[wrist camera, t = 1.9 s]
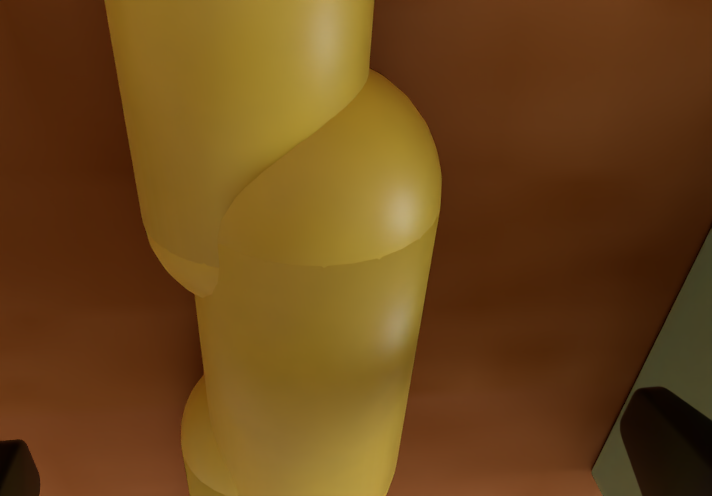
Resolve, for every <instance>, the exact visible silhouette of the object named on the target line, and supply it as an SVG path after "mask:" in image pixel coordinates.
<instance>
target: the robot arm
mask: <svg viewBox="0 0 712 496" xmlns="http://www.w3.org/2000/svg"><path fill="white" fill-rule="evenodd" d="M620 434H621V437H622V440H623V443H624V446H625V449H626V452H627V454H628V457H629V460H630V463H631V466H632V469H633V471H634V474H635V477H636V480H637V483H638V486H639V488H640V491H641V494H642V496H712V420H711V419H709V418H708V417H706V416H705V415H704V414H702V413H701V412H699V411H698V410H697V409H695V408H694V407H692V406H691V405H690V404H688V403H687V402H685V401H684V400H683V399H681V398H680V397H678V396H677V395H676V394H674V393H673V392H671V391H670V390H668V389H667V388H664V387H660V386H655V387H643V388H638V389H637V390H636V391H635V392H634V393H633V395H632V397H631V399H630V401H629V403H628V405H627V407H626V409H625V411H624V413H623V415H622V417H621V420H620ZM39 494H40V476H39V472H38V470H37V468H36V465H35V463H34V460H33V458H32V455H31V453H30V451H29V448H28V446H27V444H26V443H25V442H24V441H23V440H6V441H0V496H39Z"/></svg>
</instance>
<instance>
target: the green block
mask: <svg viewBox="0 0 712 496" xmlns="http://www.w3.org/2000/svg"><path fill="white" fill-rule="evenodd" d="M655 386H660V387H664V388H667V389H668V390H670V391H671V392H673V393H674V394H676V395H677V396H678V397H680V398H681V399H683V400H684V401H685V402H687V403H688V404H690V405H691V406H692V407H694V408H695V409H697V410H698V411H699V412H701V413H702V414H704V415H705V416H706V417H708V418H709V419H711V420H712V228H711V230H710V232H709V234H708V236H707V238H706V240H705V242H704V244H703V246H702V248H701V250H700V252H699V254H698V256H697V258H696V260H695V262H694V264H693V266H692V268H691V270H690V272H689V274H688V276H687V278H686V280H685V282H684V284H683V286H682V288H681V290H680V293H679V295H678V297H677V299H676V301H675V303H674V305H673V307H672V309H671V311H670V313H669V315H668V317H667V319H666V321H665V323H664V325H663V327H662V329H661V331H660V333H659V335H658V337H657V339H656V341H655V343H654V345H653V347H652V349H651V351H650V353H649V355H648V357H647V359H646V362H645V364H644V366H643V368H642V370H641V372H640V374H639V376H638V378H637V380H636V382H635V384H634V386H633V388H632V390H631V392H630V394H629V396H628V398H627V400H626V402H625V404H624V406H623V408H622V410H621V412H620V414H619V416H618V418H617V420H616V422H615V424H614V426H613V429H612V431H611V433H610V435H609V437H608V439H607V441H606V443H605V445H604V447H603V449H602V451H601V453H600V455H599V457H598V459H597V461H596V463H595V465H594V467H593V469H592V476H593V478H594V479H595V481H596V483H597V485H598V487H599V489H600V491H601V493H602V495H603V496H642V494H641V491H640V488H639V486H638V483H637V480H636V477H635V474H634V471H633V469H632V466H631V463H630V460H629V457H628V454H627V452H626V449H625V446H624V443H623V440H622V437H621V434H620V420H621V417H622V415H623V413H624V411H625V409H626V407H627V405H628V403H629V401H630V399H631V397H632V395H633V393H634V392H635V391H636V390H637V389H638V388H643V387H655Z"/></svg>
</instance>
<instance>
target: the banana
mask: <svg viewBox="0 0 712 496" xmlns="http://www.w3.org/2000/svg"><path fill="white" fill-rule="evenodd" d="M104 1H105V7H106V13H107V19H108V25H109V30H110V36H111V42H112V48H113V54H114V59H115V65H116V71H117V77H118V83H119V88H120V94H121V100H122V106H123V112H124V117H125V123H126V129H127V135H128V141H129V146H130V152H131V158H132V164H133V169H134V175H135V181H136V187H137V193H138V198H139V204H140V210H141V216H142V220H143V225H144V227H145V230H146V233H147V236H148V240H149V243H150V246H151V248H152V249H153V251H154V253H155V254H156V256H157V258H158V259H159V261H160V262H161V264H162V265H163V267H164V268H165V269H166V271H167V272H168V273H169V274H170V275H171V276H172V277H173V278H174V279H175V280H177V281H178V282H179V283H180V284H181V285H182V286H183V287H185V288H186V289H187V290H188V291H190V292H192V293H194V295H195V303H196V311H197V320H198V328H199V336H200V344H201V352H202V360H203V368H204V375H203V376H202V377H201V379H200V380H199V381H198V383H197V384H196V385H195V387H194V388H193V390H192V392H191V394H190V396H189V398H188V400H187V402H186V405H185V409H184V412H183V416H182V420H181V448H182V453H183V459H184V465H185V471H186V477H187V482H188V488H189V494H190V496H386V494H387V492H388V489H389V487H390V484H391V481H392V479H393V476H394V473H395V469H396V464H397V459H398V453H399V447H400V441H401V435H402V429H403V424H404V418H405V412H406V406H407V400H408V394H409V388H410V383H411V377H412V371H413V365H414V359H415V353H416V347H417V342H418V336H419V330H420V324H421V318H422V312H423V307H424V301H425V295H426V289H427V283H428V277H429V271H430V266H431V260H432V254H433V248H434V242H435V236H436V230H437V225H438V219H439V213H440V205H441V187H442V174H441V168H440V163H439V157H438V152H437V149H436V145H435V142H434V140H433V137H432V135H431V133H430V130H429V128H428V126H427V123H426V122H425V120H424V119H423V117H422V116H421V115H420V113H419V112H418V110H417V109H416V108H415V106H414V105H413V103H412V102H411V101H410V99H409V98H408V97H407V95H405V94H404V93H403V92H402V91H401V90H400V89H398V88H397V87H396V86H395V85H394V84H393V83H391V82H390V81H389V80H388V79H387V78H385V77H384V76H383V75H381V74H379V73H377V72H376V71H374V70H372V69H370V68H369V64H370V52H371V39H372V26H373V13H374V0H104Z"/></svg>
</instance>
